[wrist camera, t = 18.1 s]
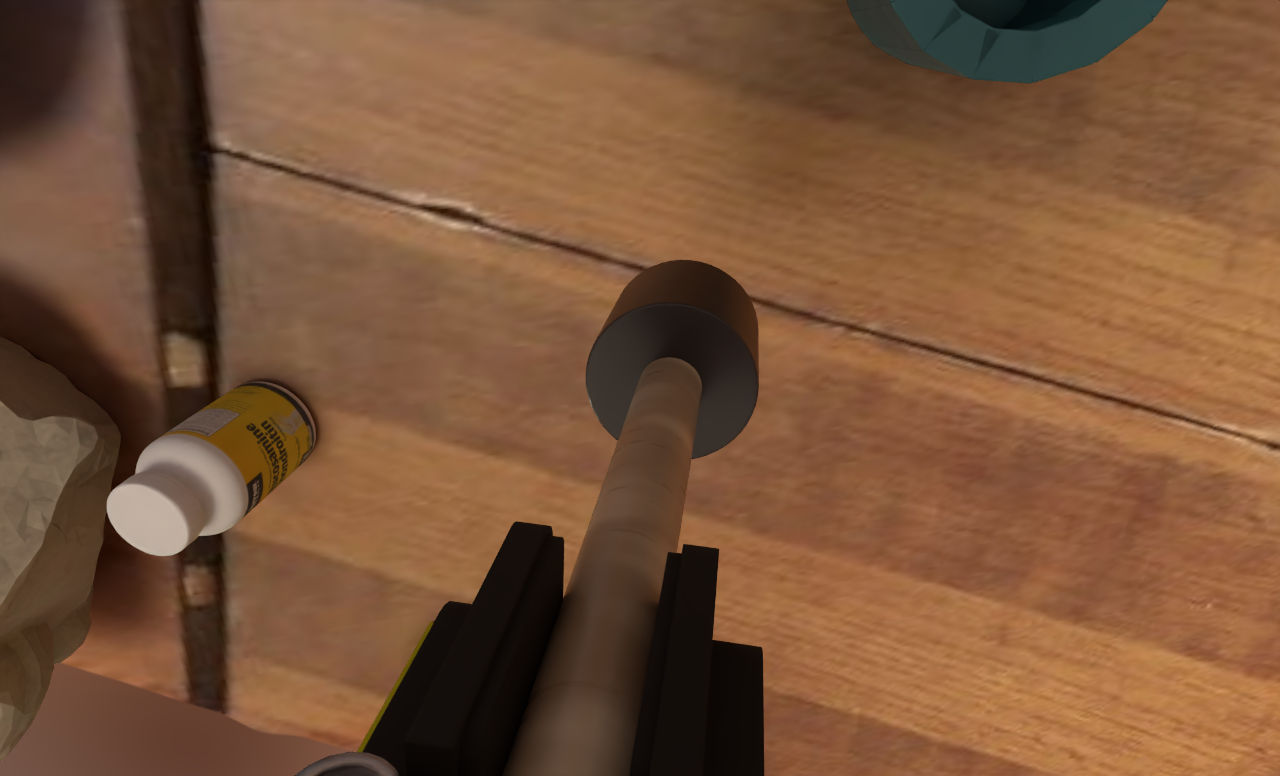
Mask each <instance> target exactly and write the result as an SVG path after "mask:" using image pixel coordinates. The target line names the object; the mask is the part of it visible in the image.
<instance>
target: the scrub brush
mask: <svg viewBox="0 0 1280 776" xmlns="http://www.w3.org/2000/svg"><path fill="white" fill-rule="evenodd" d="M586 388H587V394H588V398H589V401H590V404H591V406H592V408H593V411H594V413H595V415H596V416H597V418H598V419H599V421H600V423H601V424H602V425H603V426H604V428H605V429H606V430H607V431H608V432H609V433H610V434H611V435H612V436H613V437H614V438H615V439H616V440H618V442H617V445H616V448H615V451H614V454H613V457H612V459H611V462H610V465H609V468H608V471H607V474H606V477H605V480H604V482H603V485H602V488H601V491H600V494H599V497H598V500H597V503H596V506H595V508H594V511H593V514H592V517H591V520H590V523H589V526H588V529H587V531H586V534H585V537H584V540H583V543H582V546H581V549H580V552H579V554H578V557H577V560H576V563H575V566H574V569H573V572H572V575H571V578H570V580H569V583H568V586H567V589H566V592H565V595H564V598H563V601H562V603H561V606H560V609H559V612H558V615H557V618H556V621H555V624H554V626H553V629H552V632H551V635H550V638H549V641H548V644H547V647H546V650H545V652H544V655H543V658H542V661H541V664H540V667H539V670H538V673H537V675H536V678H535V681H534V684H533V687H532V690H531V693H530V696H529V698H528V701H527V704H526V707H525V710H524V713H523V716H522V719H521V721H520V724H519V727H518V730H517V733H516V736H515V739H514V742H513V745H512V747H511V750H510V753H509V756H508V759H507V762H506V765H505V768H504V770H503V773H502V776H629V775H630V767H631V761H632V754H633V748H634V743H635V737H636V731H637V725H638V720H639V714H640V708H641V703H642V697H643V691H644V685H645V680H646V674H647V668H648V663H649V657H650V651H651V645H652V640H653V634H654V628H655V622H656V617H657V611H658V605H659V600H660V594H661V588H662V582H663V577H664V571H665V565H666V560H667V554H668V552H673V553H677V547H678V541H679V534H680V528H681V522H682V515H683V509H684V502H685V496H686V490H687V483H688V477H689V470H690V464H691V459H696V458H699V457H703V456H706V455H709V454H711V453H713V452H716V451H717V450H719V449H721V448H723V447H724V446H726V445H727V444H728V443H730V442H731V441H732V440H734V439H735V438H736V437H737V436H738V435H739V434H740V433H741V431H742V430H743V429H744V427H745V426H746V425H747V423H748V421H749V420H750V418H751V416H752V414H753V411H754V408H755V406H756V402H757V397H758V388H759V353H758V321H757V316H756V312H755V309H754V306H753V304H752V302H751V300H750V298H749V296H748V295H747V293H746V292H745V290H744V289H743V288H742V286H741V285H740V284H739V283H738V282H737V281H736V280H735V279H733V278H732V277H731V276H730V275H728V274H727V273H725V272H724V271H722V270H720V269H719V268H716V267H714V266H712V265H709V264H706V263H703V262H698V261H692V260H675V261H668V262H664V263H660V264H657V265H655V266H652V267H650V268H648V269H646V270H645V271H643V272H642V273H640V274H639V275H637V276H636V277H635V278H634V279H633V280H632V281H631V282H630V283H629V284H628V285H627V286H626V287H625V289H624V290H623V292H622V293H621V295H620V297H619V298H618V300H617V302H616V304H615V306H614V308H613V310H612V311H611V313H610V315H609V317H608V319H607V321H606V323H605V324H604V326H603V328H602V330H601V332H600V334H599V336H598V337H597V339H596V341H595V343H594V345H593V347H592V349H591V352H590V354H589V358H588V362H587V367H586Z"/></svg>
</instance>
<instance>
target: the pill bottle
mask: <svg viewBox="0 0 1280 776" xmlns="http://www.w3.org/2000/svg"><path fill="white" fill-rule="evenodd" d="M315 440H316V430H315V425H314V421H313V419H312V416H311V414H310V412H309V411H308V409H307V408H306V406H305V405H304V404H303V403H302V402H301V400H300V399H299V398H297V397H296V396H295V395H294V394H293V393H291V392H290V391H288V390H287V389H285V388H283V387H281V386H278V385H276V384H272V383H268V382H260V381H256V382H249V383H245V384H242V385H240V386H238V387H236V388H234V389H233V390H231V391H229V392H228V393H226V394H225V395H223V396H222V397H220V398H219V399H217V400H216V401H214V402H213V403H211V404H210V405H208V406H207V407H205V408H203V409H202V410H200V411H199V412H197V413H196V414H194V415H193V416H191V417H190V418H188V419H187V420H185V421H184V422H182V423H181V424H179V425H177V426H176V427H174V428H173V429H171V430H170V431H168V432H167V433H165V434H164V435H162V436H161V437H159V438H158V439H156V440H155V441H153V442H152V443H151V444H150V445H148V446H147V447H146V448H145V449H144V451H143V452H142V454H141V455H140V457H139V459H138V462H137V466H136V472H135V475H133V476H131V477H129V478H128V479H126V480H125V481H124V482H123V483H121V484H120V485H118V486H117V487H116V488H114V489H113V490H112V492H111V493H110V495H109V496H108V499H107V513H108V517H109V519H110V522H111V523H112V525H113V527H114V528H115V530H116V531H117V532H118V534H119V535H120V536H121V537H122V538H123V539H124V540H126V541H127V542H128V543H129V544H131V545H132V546H134V547H135V548H137V549H139V550H141V551H143V552H145V553H148V554H151V555H156V556H170V555H174V554H176V553H178V552H180V551H182V550H183V549H184V548H185V547H187V546H188V545H189V544H190V543H192V542H193V541H194V540H195V539H196V538H197V537H198V536H207V535H214V534H218V533H221V532H224V531H226V530H228V529H230V528H231V527H233V526H234V525H235V524H237V523H238V522H239V521H240V520H241V519H242V518H243V517H244V516H245V515H247V514H248V513H249V512H250V511H251V510H252V509H253V508H254V507H255V506H256V505H257V504H259V503H260V502H261V501H262V500H263V499H264V498H265V497H266V496H267V495H268V494H270V493H271V492H272V491H273V490H274V489H275V488H276V487H277V486H278V485H279V484H280V483H281V482H282V481H284V480H285V479H286V478H287V477H288V476H289V475H290V474H291V473H292V472H293V471H294V470H295V469H297V468H298V467H299V466H300V465H301V464H302V463H303V462H304V461H305V460H306V459H307V458H308V456H309V455H310V454H311V452H312V450H313V448H314V445H315Z"/></svg>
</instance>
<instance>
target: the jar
mask: <svg viewBox="0 0 1280 776" xmlns="http://www.w3.org/2000/svg"><path fill="white" fill-rule="evenodd" d="M1167 1H1168V0H847V3H848V6H849V8H850V11H851V13H852V15H853V18H854V19H855V21H856V23H857V24H858V26H859V28H860V29H861V30H862V32H863V33H864V34H865V35H866V36H867V38H868V39H869V40H870V41H871V42H872V43H873V44H874V45H875V46H876V47H878V48H880V49H881V50H883V51H884V52H886V53H887V54H889V55H891V56H893V57H895V58H898V59H899V60H901V61H903V62H905V63H907V64H910V65H914V66H919V67H923V68H927V69H932V70H936V71H940V72H945V73H949V74H953V75H957V76H961V77H966V78H970V79H975V80H989V81H1003V82H1017V83H1035V82H1038V81H1041V80H1044V79H1047V78H1050V77H1053V76H1057V75H1060V74H1063V73H1066V72H1069V71H1072V70H1075V69H1079V68H1082V67H1085V66H1088V65H1091V64H1093V63H1096V62H1098V61H1099V60H1100V59H1102V58H1103V57H1104V56H1106V55H1107V54H1108V53H1110V52H1111V51H1112V50H1114V49H1115V48H1117V47H1118V46H1119V45H1121V44H1122V43H1123V42H1125V41H1126V40H1127V39H1129V38H1130V37H1131V36H1133V35H1134V34H1136V33H1137V32H1138V31H1140V30H1141V29H1142V28H1144V27H1145V26H1146V25H1148V24H1149V23H1150V22H1152V21H1153V18H1155V17H1156V16H1157V14H1158V13H1159V12H1160V10H1161V9H1162V7H1163V6H1164V5H1165V3H1166V2H1167Z"/></svg>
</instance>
